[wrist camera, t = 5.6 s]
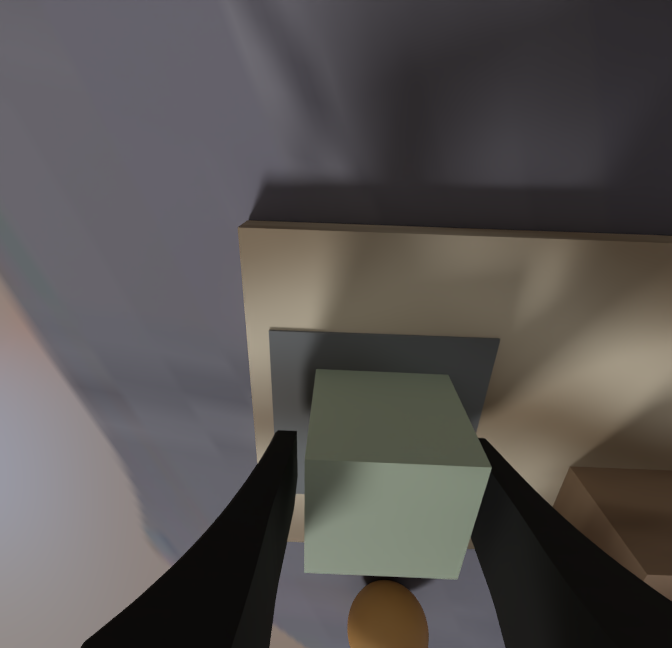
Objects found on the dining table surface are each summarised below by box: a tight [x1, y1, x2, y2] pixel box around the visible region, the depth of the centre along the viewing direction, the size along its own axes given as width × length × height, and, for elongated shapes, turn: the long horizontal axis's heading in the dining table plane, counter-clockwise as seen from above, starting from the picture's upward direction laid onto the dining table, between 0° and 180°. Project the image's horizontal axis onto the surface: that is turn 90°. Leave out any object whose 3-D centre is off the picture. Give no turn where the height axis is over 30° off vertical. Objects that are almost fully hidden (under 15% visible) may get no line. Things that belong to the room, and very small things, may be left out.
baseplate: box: [238, 220, 672, 549], centre depth 14 cm, size 14×18×1 cm
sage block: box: [304, 369, 492, 579], centre depth 11 cm, size 4×4×4 cm
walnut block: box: [553, 467, 672, 601], centre depth 13 cm, size 4×4×4 cm
